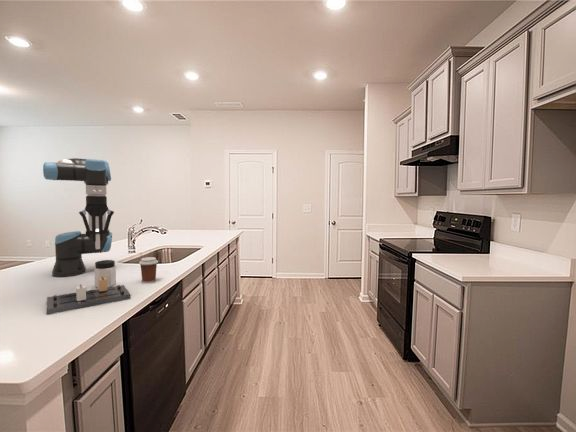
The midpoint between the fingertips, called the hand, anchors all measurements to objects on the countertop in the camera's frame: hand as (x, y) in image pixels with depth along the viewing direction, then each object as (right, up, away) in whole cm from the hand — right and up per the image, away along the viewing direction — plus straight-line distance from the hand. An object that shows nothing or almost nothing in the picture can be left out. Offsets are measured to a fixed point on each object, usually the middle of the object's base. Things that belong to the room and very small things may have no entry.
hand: (97, 248), depth 126 cm
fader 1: (0, -20, -10) cm, 22 cm away
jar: (-6, -20, +15) cm, 26 cm away
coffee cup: (+11, -20, +24) cm, 33 cm away
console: (0, -22, -4) cm, 22 cm away
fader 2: (+1, -19, +2) cm, 19 cm away
